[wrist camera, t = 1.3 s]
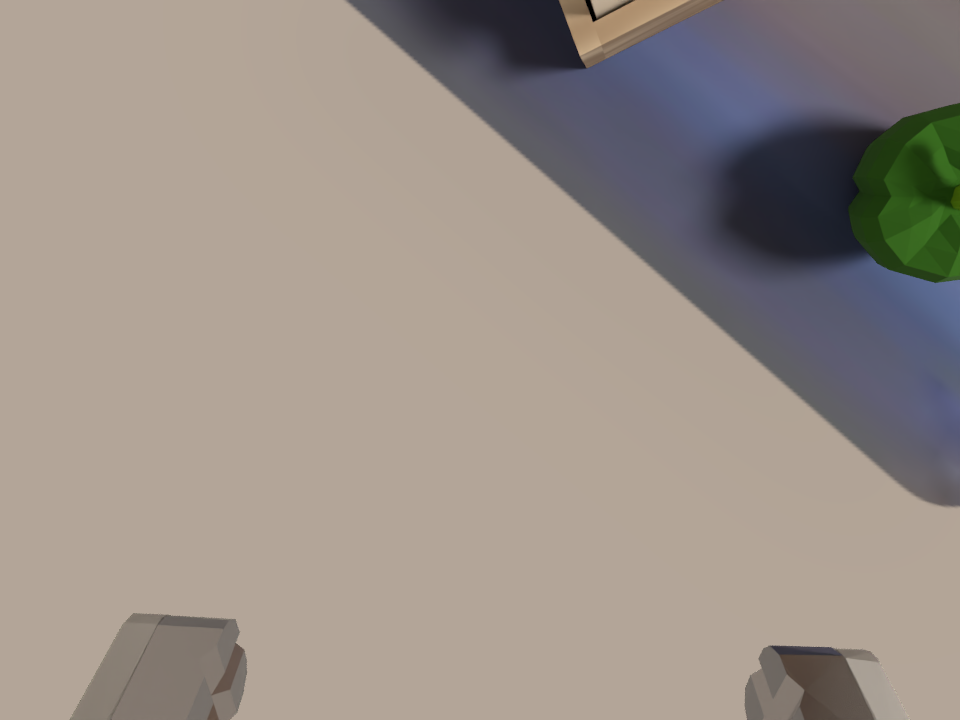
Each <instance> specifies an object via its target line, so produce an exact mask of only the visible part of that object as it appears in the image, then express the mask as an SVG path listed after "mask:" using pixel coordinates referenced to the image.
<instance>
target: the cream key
mask: <svg viewBox="0 0 960 720" xmlns="http://www.w3.org/2000/svg"><path fill="white" fill-rule="evenodd" d="M633 1H635V0H590V2H591V4H592V7H593V10H594V13H595V15H596V18H597V20H599V19H600V18H602V17H604V16H606V15H608V14H610V13H612V12H614V11H616V10H618V9H620V8H622V7H623V6H625V5H627V4H629V3H631V2H633Z"/></svg>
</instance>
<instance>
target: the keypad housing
mask: <svg viewBox="0 0 960 720" xmlns="http://www.w3.org/2000/svg"><path fill="white" fill-rule="evenodd" d="M721 1H723V0H635V1H633V2H631V3H629V4H627V5H625V6H623V7H622V8H620V9H618V10H616V11H614V12H612V13H610V14H608V15H606V16H604V17H602V18H600V19H599V20H597V21H595V22H593V21H592V18H591V16H590V13H589V10H588V7H587V5H586V2H585V0H559V2H560V4H561V7H562V10H563V12H564V15H565V18H566V20H567V23H568V26H569V28H570V31H571V34H572V37H573V39H574V42H575V45H576V47H577V50H578V53H579V55H580V57H581V59H582V61H583V63H584V64H585V66H586V68H589V67H591V66H593V65H595V64H597V63H599V62H601V61H603V60H605V59H607V58H609V57H611V56H613V55H615V54H617V53H619V52H621V51H623V50H625V49H627V48H629V47H631V46H633V45H635V44H637V43H639V42H641V41H643V40H645V39H647V38H649V37H651V36H653V35H655V34H657V33H659V32H661V31H663V30H665V29H667V28H669V27H671V26H673V25H675V24H677V23H679V22H681V21H683V20H685V19H687V18H689V17H691V16H693V15H695V14H697V13H699V12H701V11H703V10H705V9H707V8H709V7H711V6H713V5H715V4H717V3H719V2H721Z"/></svg>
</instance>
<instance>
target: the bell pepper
mask: <svg viewBox="0 0 960 720" xmlns="http://www.w3.org/2000/svg"><path fill="white" fill-rule="evenodd" d="M852 178H853V180H854V182H855V183H856V185H857V187H858V189H859V190H860V191H859V193H858V194H857V195H856V197H855V198H854V200H853V201H852V202H851V204H850V205H849V207H848V212H849V217H850V222H851V228H852V231H853V234H854V236H855V238H856V239H857V240H858V242H859V243H860V244H861V245H862V246H863V247H864V249H865V250H866V251H867V252H868V253H869V254H870V256H871V257H872V258H873V259H874V260H875V261H876V263H877V264H879V265H881V266H883V267H885V268H887V269H889V270H892V271H895V272H899V273H902V274H906V275H909V276H913V277H916V278H920V279H924V280H927V281H931V282H934V283H938V282H945V281H953V280H960V103H958V104H953V105H949V106H945V107H941V108H938V109H934V110H930V111H926V112H923V113H919V114H915V115H912V116H908V117H904V118H902V119H901V120H899V121H898V122H897V123H896V124H894V125H893V126H892V127H891V128H889V129H888V130H887V131H886V132H884V133H883V134H882V135H880V136H879V137H878V138H877V139H875V140H874V141H873V142H872V143H871V144H870V145H869V146H868V147H867V149H866V150H865V152H864V154H863V156H862V158H861V161H860V163H859V165H858V167H857V169H856V171H855V173H854V175H853V177H852Z"/></svg>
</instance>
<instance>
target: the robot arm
mask: <svg viewBox="0 0 960 720" xmlns="http://www.w3.org/2000/svg"><path fill="white" fill-rule="evenodd" d="M238 635H239V629H238V626H237V623H236V620H235V619H223V618H205V617H186V616H171V615H160V614H159V615H158V614H137V613H136V614H135V613H134V614H132V615H131V616H130V618H128V619H127V621H126V622H125V623H124V624H123V625H122V627H121V629H120V630H119V632H118V634H117V636H116V637H115V639H114V641H113V643H112V645H111V647H110V648H109V650H108V652H107V654H106V655H105V657H104V659H103V661H102V663H101V664H100V666H99V668H98V670H97V672H96V673H95V675H94V677H93V679H92V681H91V683H90V684H89V686H88V688H87V690H86V691H85V693H84V695H83V697H82V699H81V700H80V702H79V704H78V706H77V708H76V710H75V711H74V713H73V715H72V717H71V718H70V720H230V719H231V718H232V717H233V716H234V715H235V714H236V713H237V711H238V708H239V705H240V702H241V699H242V695H243V692H244V686H245V680H246V675H247V659H246V655H245V651H244V649H242V648H241V647H240V646H239V645H238V644H236V641H237V638H238ZM759 661H760V664H761V667H762V669H760V670H759V671H757V672H755V673H753V674H752V675H750V678H749V680H748V683H747V685H746V688H745V710H746V716H747V720H910V718H909V716H908V714H907V712H906V711H905V709H904V707H903V705H902V703H901V701H900V699H899V697H898V696H897V694H896V692H895V690H894V688H893V686H892V685H891V683H890V681H889V679H888V677H887V675H886V673H885V671H884V669H883V668H882V666H881V664H880V662H879V660H878V658H877V657H875V656H874V654H872V653H871V652H870V651H866V650H862V649H860V650H859V649H835V648H831V647H830V648H829V647H800V646H768V647H766V648H764V649H763V650H762V653H761V654H760V657H759Z"/></svg>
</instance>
